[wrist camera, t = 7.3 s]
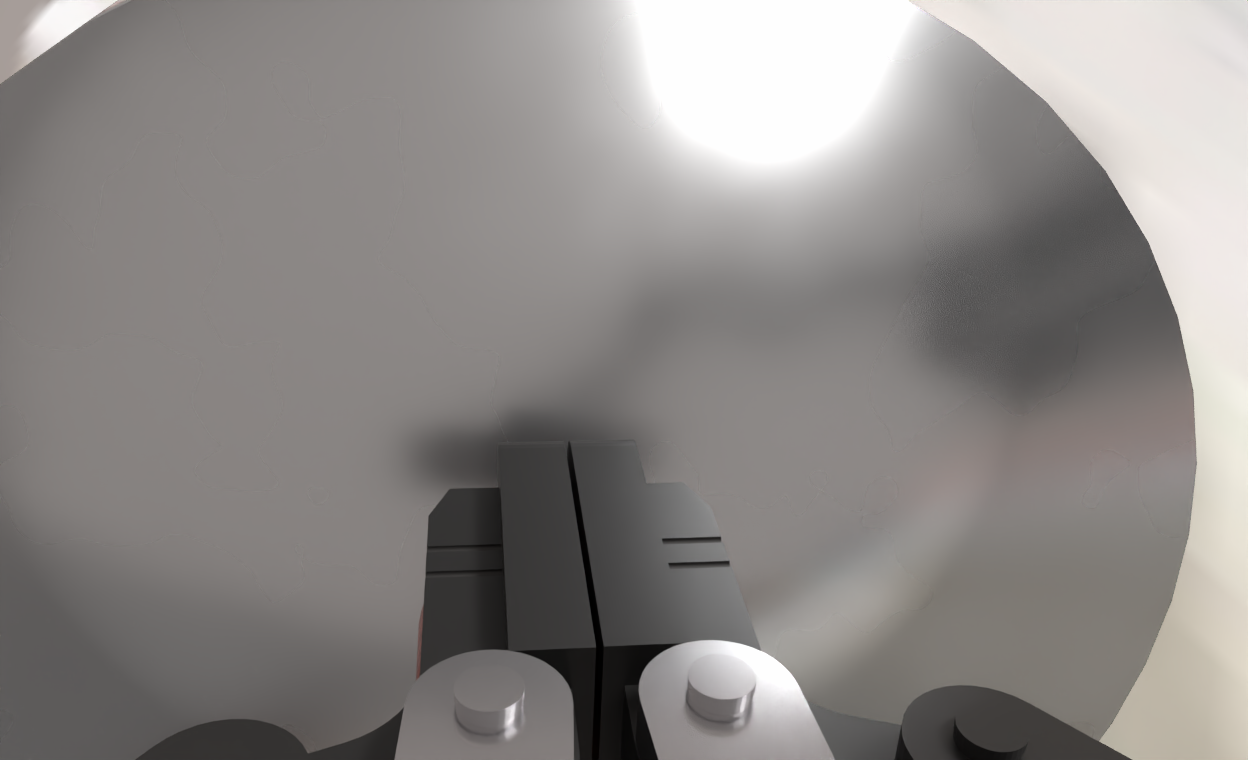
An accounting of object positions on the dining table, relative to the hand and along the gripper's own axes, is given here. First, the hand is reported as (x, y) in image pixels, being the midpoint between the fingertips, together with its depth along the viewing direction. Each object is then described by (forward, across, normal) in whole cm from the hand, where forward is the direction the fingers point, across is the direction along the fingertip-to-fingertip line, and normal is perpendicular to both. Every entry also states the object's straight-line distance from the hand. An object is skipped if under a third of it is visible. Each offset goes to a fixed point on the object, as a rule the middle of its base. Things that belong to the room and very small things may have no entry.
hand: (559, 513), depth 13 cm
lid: (+3, 0, +3) cm, 4 cm away
